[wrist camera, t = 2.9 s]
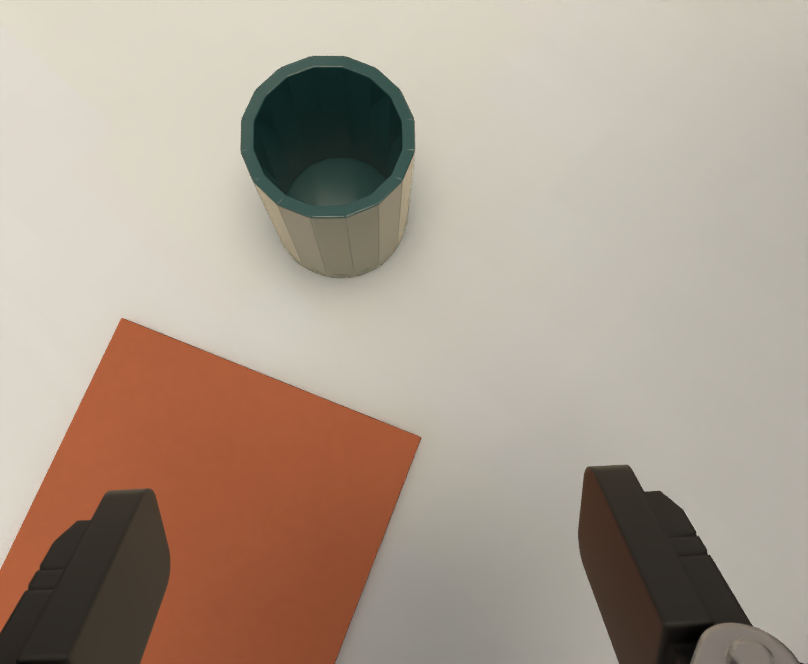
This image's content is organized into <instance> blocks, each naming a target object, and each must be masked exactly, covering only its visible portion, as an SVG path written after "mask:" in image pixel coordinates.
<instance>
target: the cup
mask: <svg viewBox="0 0 808 664" xmlns="http://www.w3.org/2000/svg"><path fill="white" fill-rule="evenodd" d="M241 154H242V157H243V159H244V162H245V164H246V166H247V169H248V171H249V173H250V176H251V178H252V181H253V183H254V185H255V187H256V189H257V191H258V193H259V195H260V198H261V200H262V202H263V204H264V206H265V208H266V210H267V212H268V214H269V216H270V219H271V221H272V223H273V225H274V227H275V229H276V231H277V233H278V235H279V238H280V240H281V242H282V244H283V246H284V247H285V248H286V249H287V251H288V252H289V254H290V255H291V256H292V257H293V258H294V259H295V260H296V261H297V262H298V263H300V264H301V265H302V266H304V267H305V268H307V269H309V270H311V271H313V272H315V273H317V274H321V275H324V276H329V277H337V278H345V277H353V276H358V275H361V274H364V273H367V272H369V271H371V270H373V269H375V268H377V267H378V266H380V265H381V264H382V263H384V262H385V261H386V260H387V259H388V258H389V257H390V256H391V255H392V254H393V252H394V251H395V249H396V248H397V246H398V245H399V243H400V241H401V239H402V236H403V233H404V230H405V226H406V224H407V217H408V208H409V199H410V191H411V182H412V173H413V164H414V156H415V121H414V117H413V115H412V113H411V111H410V109H409V107H408V105H407V102H406V100H405V98H404V96H403V94H402V92H401V91H400V89H399V88H398V87H397V86H396V85H394V84H393V83H392V82H391V81H390V80H389V79H388V78H387V77H386V76H385V75H384V74H382V73H381V72H380V71H379V70H378V69H376V68H375V67H372V66H370V65H367V64H365V63H362V62H359V61H357V60H354V59H351V58H349V57H345V56H312V57H311V56H310V57H307V58H305V59H302V60H299V61H296V62H294V63H291V64H288V65H286V66H283V67H281V68H279V69H278V70H277V71H276V72H275V73H274V74H272V75H271V76H270V77H269V78H268V79H267V80H266V81H265V82H263V83H262V84H261V85H260V86H259V87H258V88H257V89H256V90H255V92H254V94H253V96H252V98H251V100H250V102H249V104H248V106H247V109H246V111H245V113H244V115H243V117H242V120H241Z"/></svg>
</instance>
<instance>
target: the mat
mask: <svg viewBox="0 0 808 664" xmlns="http://www.w3.org/2000/svg"><path fill="white" fill-rule="evenodd" d="M420 440H421V437H419V436H416V435H414V434H411V433H409V432H406V431H404V430H401V429H399V428H396V427H394V426H391V425H389V424H386V423H384V422H381V421H379V420H376V419H374V418H371V417H369V416H366V415H364V414H361V413H359V412H356V411H354V410H351V409H349V408H346V407H344V406H341V405H339V404H336V403H334V402H331V401H329V400H326V399H324V398H321V397H319V396H316V395H314V394H311V393H309V392H306V391H304V390H301V389H299V388H296V387H294V386H291V385H288V384H286V383H283V382H281V381H278V380H276V379H273V378H271V377H268V376H266V375H263V374H261V373H258V372H256V371H253V370H251V369H248V368H246V367H243V366H241V365H238V364H236V363H233V362H231V361H228V360H226V359H223V358H221V357H218V356H216V355H213V354H211V353H208V352H206V351H203V350H201V349H198V348H196V347H193V346H191V345H188V344H186V343H183V342H181V341H178V340H176V339H173V338H171V337H168V336H166V335H163V334H161V333H158V332H156V331H153V330H151V329H148V328H146V327H143V326H141V325H138V324H136V323H133V322H131V321H128V320H126V319H123V318H121V320H120V322H119V324H118V326H117V328H116V330H115V333H114V335H113V337H112V339H111V341H110V343H109V345H108V347H107V349H106V351H105V353H104V355H103V358H102V360H101V362H100V364H99V366H98V368H97V370H96V372H95V374H94V376H93V378H92V380H91V383H90V385H89V387H88V389H87V391H86V393H85V395H84V397H83V399H82V401H81V403H80V405H79V407H78V410H77V412H76V414H75V416H74V418H73V420H72V422H71V424H70V426H69V428H68V430H67V432H66V435H65V437H64V439H63V441H62V443H61V445H60V447H59V449H58V451H57V453H56V455H55V457H54V460H53V462H52V464H51V466H50V468H49V470H48V472H47V474H46V476H45V478H44V480H43V482H42V484H41V487H40V489H39V491H38V493H37V495H36V497H35V499H34V501H33V503H32V505H31V507H30V509H29V512H28V514H27V516H26V518H25V520H24V522H23V524H22V526H21V528H20V530H19V532H18V534H17V536H16V539H15V541H14V543H13V545H12V547H11V549H10V551H9V553H8V555H7V557H6V559H5V561H4V564H3V566H2V568H1V570H0V632H1V631H2V629H3V627H4V626H5V624H6V622H7V620H8V619H9V617H10V615H11V614H12V612H13V610H14V609H15V607H16V605H17V603H18V602H19V600H20V598H21V597H22V595H23V593H24V591H27V590H28V585H29V583H30V581H31V579H32V578H33V576H34V574H35V573H36V571H39V569H40V564H41V562H42V561H43V559H44V557H45V556H46V554H47V552H48V550H49V549H50V547H51V545H52V544H53V542H54V541H55V540H56V539H57V538H58V537H60V536H61V535H62V534H63V533H64V532H65V531H66V530H67V529H68V528H70V527H71V526H72V525H73V524H74V523H75V522H76V521H78V520H91V518H92V516H93V515H94V513H95V511H96V509H97V507H98V505H99V503H100V502H101V500H102V498H103V496H104V495H105V493H106V492H108V491H110V490H127V489H146V488H150V489H152V490H153V491H154V493H155V495H156V498H157V502H158V506H159V510H160V514H161V518H162V522H163V526H164V530H165V534H166V538H167V542H168V546H169V550H170V576H169V581H168V585H167V588H166V591H165V594H164V597H163V600H162V603H161V605H160V608H159V611H158V614H157V617H156V620H155V623H154V625H153V628H152V631H151V634H150V637H149V640H148V643H147V645H146V648H145V651H144V654H143V657H142V660H141V663H140V664H334V663H335V661H336V658H337V656H338V653H339V650H340V648H341V645H342V643H343V640H344V637H345V635H346V632H347V630H348V627H349V624H350V622H351V619H352V617H353V614H354V611H355V609H356V606H357V604H358V601H359V598H360V596H361V593H362V591H363V588H364V585H365V583H366V580H367V578H368V575H369V572H370V570H371V567H372V565H373V562H374V559H375V557H376V554H377V552H378V549H379V546H380V544H381V541H382V539H383V536H384V533H385V531H386V528H387V526H388V523H389V520H390V518H391V515H392V513H393V510H394V507H395V505H396V502H397V500H398V497H399V494H400V492H401V489H402V486H403V484H404V481H405V479H406V476H407V473H408V471H409V468H410V466H411V463H412V460H413V458H414V455H415V453H416V450H417V447H418V445H419V442H420Z"/></svg>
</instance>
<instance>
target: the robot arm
mask: <svg viewBox="0 0 808 664" xmlns="http://www.w3.org/2000/svg"><path fill="white" fill-rule="evenodd" d="M578 540H579V549H580V555H581V559H582V563H583V566H584V569H585V571H586V574H587V577H588V580H589V582H590V585H591V588H592V590H593V593H594V596H595V599H596V601H597V604H598V607H599V610H600V612H601V615H602V618H603V621H604V623H605V626H606V629H607V632H608V634H609V637H610V640H611V642H612V645H613V648H614V651H615V653H616V656H617V659H618V662H619V664H803V663H800V662H798V660H797V658H796V657H795V656H794V654H793V653H792V652H791V651H790V650H789V649H788V648H787V647H786V646H785V645H784V644H783V643H782V642H780V641H779V640H778V639H776V638H775V637H773V636H772V635H770V634H768V633H767V632H764V631H762V630H760V629H758V628H755V627H753V626H752V624H751V623H750V621H749V619H748V618H747V616H746V614H745V613H744V611H743V609H742V608H741V606H740V604H739V603H738V601H737V599H736V598H735V596H734V594H733V593H732V591H731V589H730V588H729V586H728V584H727V583H726V581H725V579H724V578H723V576H722V574H721V573H720V571H719V569H718V568H717V566H716V564H715V562H714V561H713V559H712V557H711V556H710V555H708V554H707V549H706V547H705V546H704V544H703V542H702V541H701V539H700V537H699V536H697V535H696V531H695V529H694V527H693V526H692V524H691V522H690V521H689V519H688V517H687V516H686V514H685V512H684V511H683V509H682V508H680V507H679V506H678V505H677V504H675V503H674V502H673V501H672V500H671V499H669V498H668V497H667V496H666V495H664V494H663V493H662V492H661V491H650V492H644V491H643V489H642V487H641V485H640V483H639V481H638V480H637V478H636V476H635V474H634V472H633V470H632V469H631V467H630V466H628V465H610V466H591V467H587V468H586V470H585V473H584V480H583V490H582V499H581V509H580V518H579V528H578ZM169 576H170V550H169V546H168V542H167V538H166V534H165V530H164V526H163V522H162V518H161V514H160V510H159V506H158V502H157V498H156V495H155V493H154V491H153V490H152V489H150V488H146V489H127V490H110V491H108V492H106V493H105V495H104V496H103V498H102V500H101V502H100V503H99V505H98V507H97V509H96V511H95V513H94V515H93V516H92V518H91V520H78V521H76V522H75V523H74V524H73V525H72V526H71V527H70V528H68V529H67V530H66V531H65V532H64V533H63V534H62V535H61V536H60V537H58V538H57V539H56V540H55V541H54V542H53V544H52V545H51V547H50V549H49V550H48V552H47V554H46V556H45V557H44V559H43V561H42V562H41V564H40V569H39V571H36V573H35V574H34V576H33V578H32V579H31V581H30V583H29V585H28V590H27V591H24V593H23V595H22V597H21V598H20V600H19V602H18V603H17V605H16V607H15V609H14V610H13V612H12V614H11V615H10V617H9V619H8V620H7V622H6V624H5V626H4V627H3V629H2V631H1V632H0V664H140V663H141V660H142V657H143V654H144V651H145V648H146V645H147V643H148V640H149V637H150V634H151V631H152V628H153V625H154V623H155V620H156V617H157V614H158V611H159V608H160V605H161V603H162V600H163V597H164V594H165V591H166V588H167V585H168V581H169Z"/></svg>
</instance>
